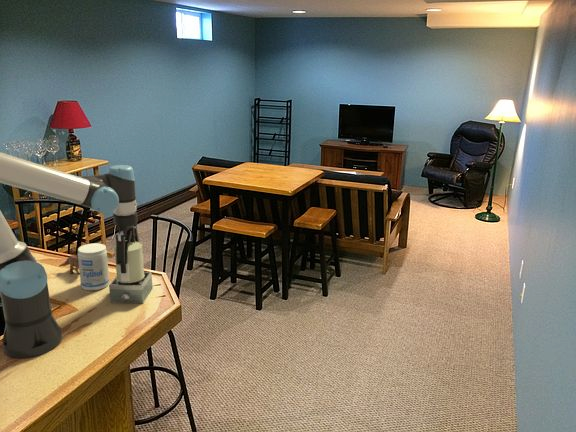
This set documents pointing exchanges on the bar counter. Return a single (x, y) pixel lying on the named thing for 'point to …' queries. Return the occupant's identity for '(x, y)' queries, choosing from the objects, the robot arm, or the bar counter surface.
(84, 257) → the supplement tub
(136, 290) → the grey open box
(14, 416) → the bar counter surface
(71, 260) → the dinosaur figurine
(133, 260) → the can
